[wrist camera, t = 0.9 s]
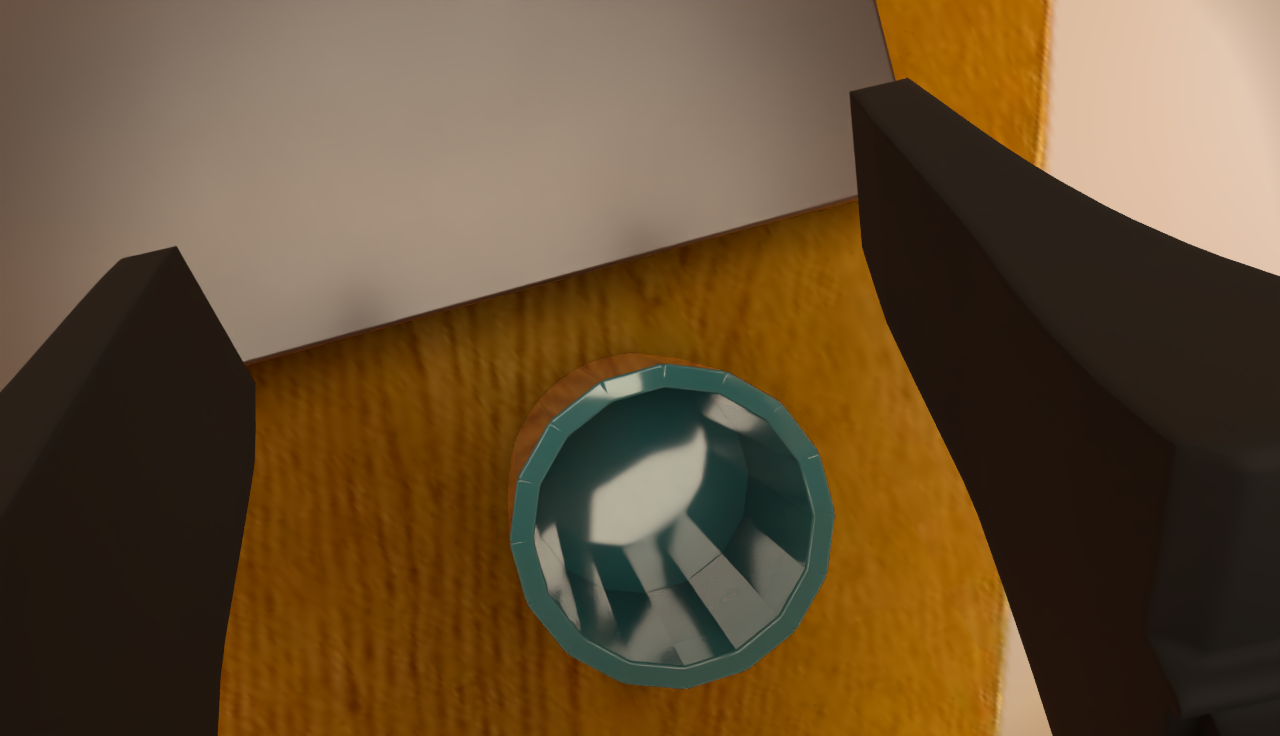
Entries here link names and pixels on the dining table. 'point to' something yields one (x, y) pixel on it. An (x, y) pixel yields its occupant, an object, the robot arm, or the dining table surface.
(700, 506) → the cup
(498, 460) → the dining table surface
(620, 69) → the shelf
